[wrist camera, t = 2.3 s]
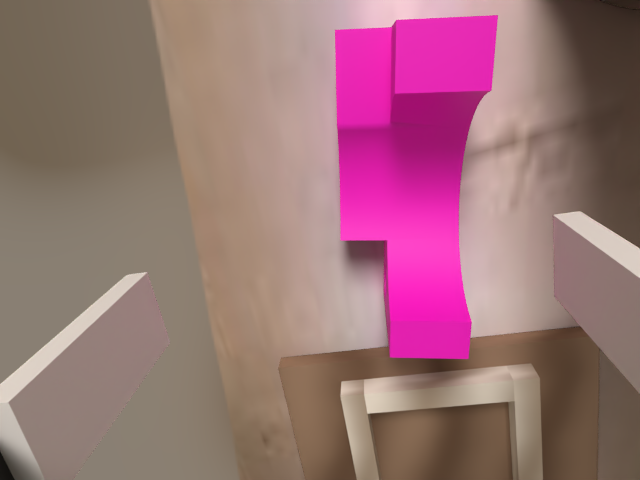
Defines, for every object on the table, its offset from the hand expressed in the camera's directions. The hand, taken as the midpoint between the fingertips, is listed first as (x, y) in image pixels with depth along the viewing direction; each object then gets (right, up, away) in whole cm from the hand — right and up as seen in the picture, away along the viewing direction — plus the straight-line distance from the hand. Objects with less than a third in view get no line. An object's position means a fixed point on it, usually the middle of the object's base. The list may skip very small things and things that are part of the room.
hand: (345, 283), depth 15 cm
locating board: (+8, -17, +19) cm, 27 cm away
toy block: (+4, +5, +12) cm, 14 cm away
